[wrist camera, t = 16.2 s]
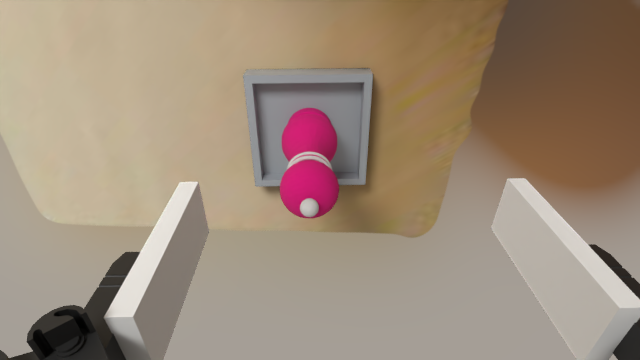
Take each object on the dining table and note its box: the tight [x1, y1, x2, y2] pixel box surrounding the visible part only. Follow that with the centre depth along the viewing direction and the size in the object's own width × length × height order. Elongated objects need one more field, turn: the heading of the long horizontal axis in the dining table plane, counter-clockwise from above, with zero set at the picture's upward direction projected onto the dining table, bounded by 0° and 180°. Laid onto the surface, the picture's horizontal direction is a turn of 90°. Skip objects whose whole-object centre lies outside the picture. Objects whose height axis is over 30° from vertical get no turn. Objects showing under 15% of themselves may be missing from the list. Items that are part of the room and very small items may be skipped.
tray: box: [243, 68, 373, 186], centre depth 50 cm, size 16×16×3 cm
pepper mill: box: [280, 108, 339, 218], centre depth 42 cm, size 7×7×20 cm
